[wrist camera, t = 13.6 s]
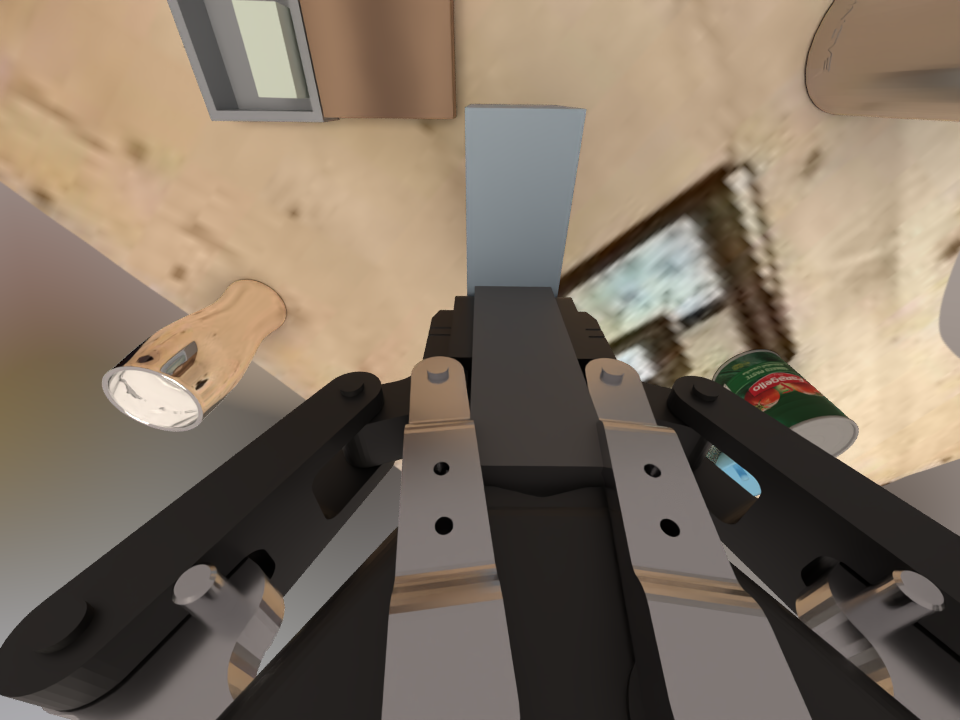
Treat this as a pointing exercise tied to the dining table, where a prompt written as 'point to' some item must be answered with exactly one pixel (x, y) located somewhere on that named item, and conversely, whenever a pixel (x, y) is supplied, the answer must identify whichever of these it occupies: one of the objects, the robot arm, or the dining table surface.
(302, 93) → the tile
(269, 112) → the box
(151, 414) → the beer glass
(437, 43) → the brown wooden block
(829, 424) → the canned tomato
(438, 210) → the dining table surface
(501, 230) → the scraper
